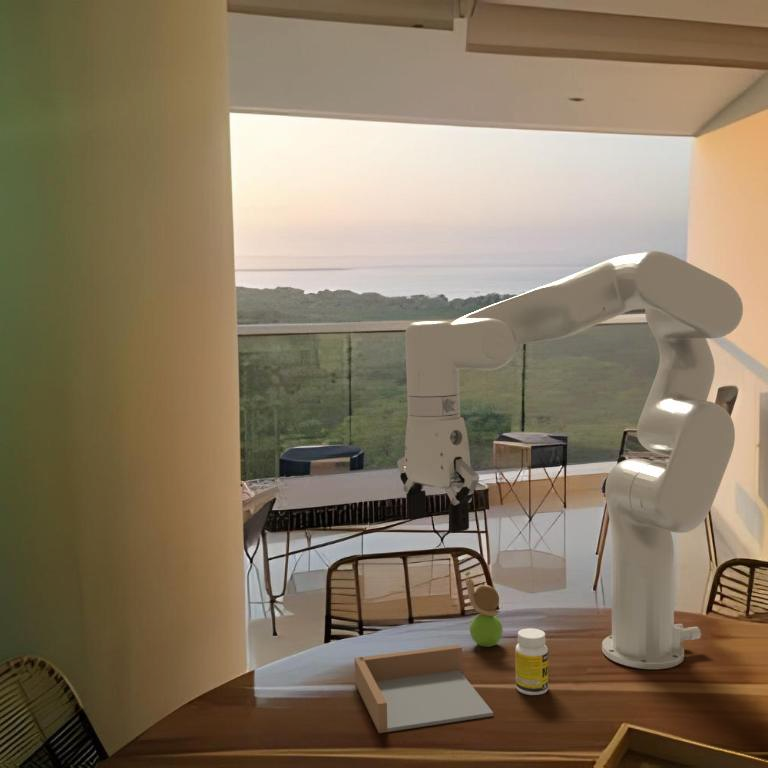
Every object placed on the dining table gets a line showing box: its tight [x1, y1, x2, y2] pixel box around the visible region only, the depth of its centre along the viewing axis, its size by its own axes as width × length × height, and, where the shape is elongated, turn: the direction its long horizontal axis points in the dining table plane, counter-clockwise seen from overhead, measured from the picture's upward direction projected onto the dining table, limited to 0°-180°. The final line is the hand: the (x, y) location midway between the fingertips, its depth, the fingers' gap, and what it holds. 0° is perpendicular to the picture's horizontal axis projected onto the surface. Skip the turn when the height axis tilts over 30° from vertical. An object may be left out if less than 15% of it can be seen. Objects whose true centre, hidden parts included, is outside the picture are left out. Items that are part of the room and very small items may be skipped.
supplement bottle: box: [515, 627, 549, 696], centre depth 116 cm, size 5×5×8 cm
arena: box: [354, 644, 494, 734], centre depth 114 cm, size 17×15×4 cm
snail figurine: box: [464, 571, 504, 648], centre depth 132 cm, size 5×6×12 cm
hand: (437, 524), depth 115 cm, fingers open, 9 cm apart
